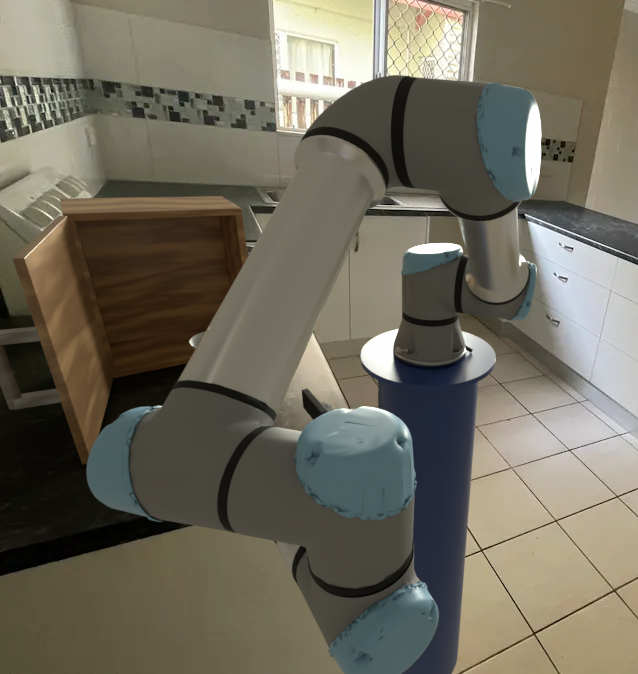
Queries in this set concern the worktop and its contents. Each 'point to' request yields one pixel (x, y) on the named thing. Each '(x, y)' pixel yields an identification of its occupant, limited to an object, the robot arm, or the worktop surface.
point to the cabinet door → (60, 335)
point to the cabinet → (155, 272)
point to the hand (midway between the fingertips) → (248, 413)
